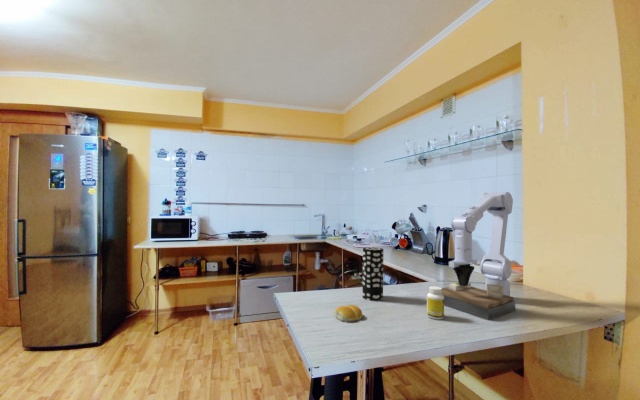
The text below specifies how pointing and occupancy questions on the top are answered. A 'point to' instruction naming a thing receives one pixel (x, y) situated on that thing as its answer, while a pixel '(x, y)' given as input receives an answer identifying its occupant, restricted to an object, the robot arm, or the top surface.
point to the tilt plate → (478, 294)
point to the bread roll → (348, 313)
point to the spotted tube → (372, 274)
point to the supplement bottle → (435, 303)
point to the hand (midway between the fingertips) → (463, 285)
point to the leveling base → (479, 308)
